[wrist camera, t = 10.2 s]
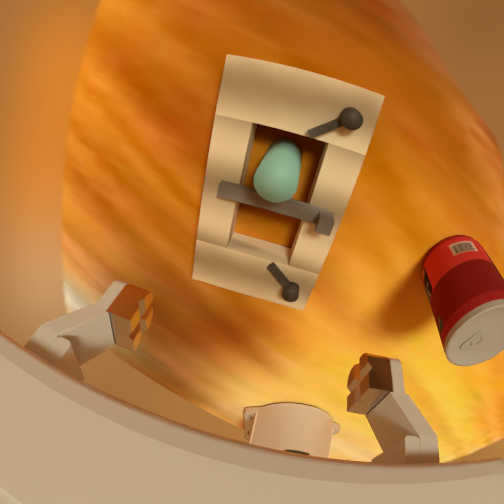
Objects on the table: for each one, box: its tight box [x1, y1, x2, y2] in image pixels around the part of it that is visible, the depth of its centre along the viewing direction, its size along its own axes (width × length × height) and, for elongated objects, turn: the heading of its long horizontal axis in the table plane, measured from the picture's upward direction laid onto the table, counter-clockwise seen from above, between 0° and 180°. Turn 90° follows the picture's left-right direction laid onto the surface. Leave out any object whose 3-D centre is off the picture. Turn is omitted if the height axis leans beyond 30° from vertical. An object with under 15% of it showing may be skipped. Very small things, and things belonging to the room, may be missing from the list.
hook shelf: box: [192, 54, 385, 310], centre depth 26 cm, size 22×12×5 cm, turn 168°
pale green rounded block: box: [254, 138, 302, 203], centre depth 23 cm, size 3×3×7 cm
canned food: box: [422, 235, 504, 366], centre depth 24 cm, size 8×8×11 cm
